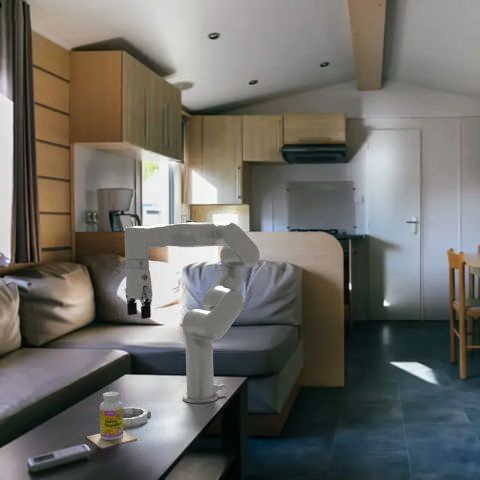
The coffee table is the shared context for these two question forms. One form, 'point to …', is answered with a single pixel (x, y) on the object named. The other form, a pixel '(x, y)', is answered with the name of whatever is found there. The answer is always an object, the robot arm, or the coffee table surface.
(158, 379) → the coffee table surface
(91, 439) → the mat
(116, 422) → the supplement bottle
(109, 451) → the coffee table surface
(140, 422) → the collar
